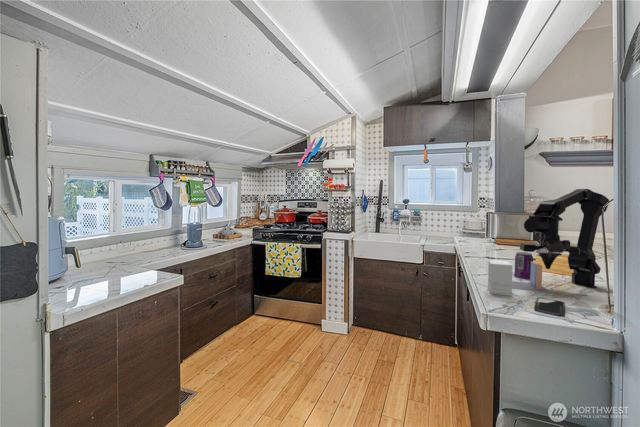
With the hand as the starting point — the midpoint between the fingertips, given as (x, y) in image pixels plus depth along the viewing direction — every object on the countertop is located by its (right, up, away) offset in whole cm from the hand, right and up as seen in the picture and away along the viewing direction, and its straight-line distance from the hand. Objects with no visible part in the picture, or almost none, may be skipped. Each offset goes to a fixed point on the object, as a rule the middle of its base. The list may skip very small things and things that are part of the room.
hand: (547, 269), depth 117 cm
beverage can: (+2, -8, +17) cm, 19 cm away
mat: (-7, -9, +3) cm, 12 cm away
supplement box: (-23, -9, -4) cm, 25 cm away
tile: (-4, -8, +2) cm, 9 cm away
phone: (-14, -10, -19) cm, 26 cm away
